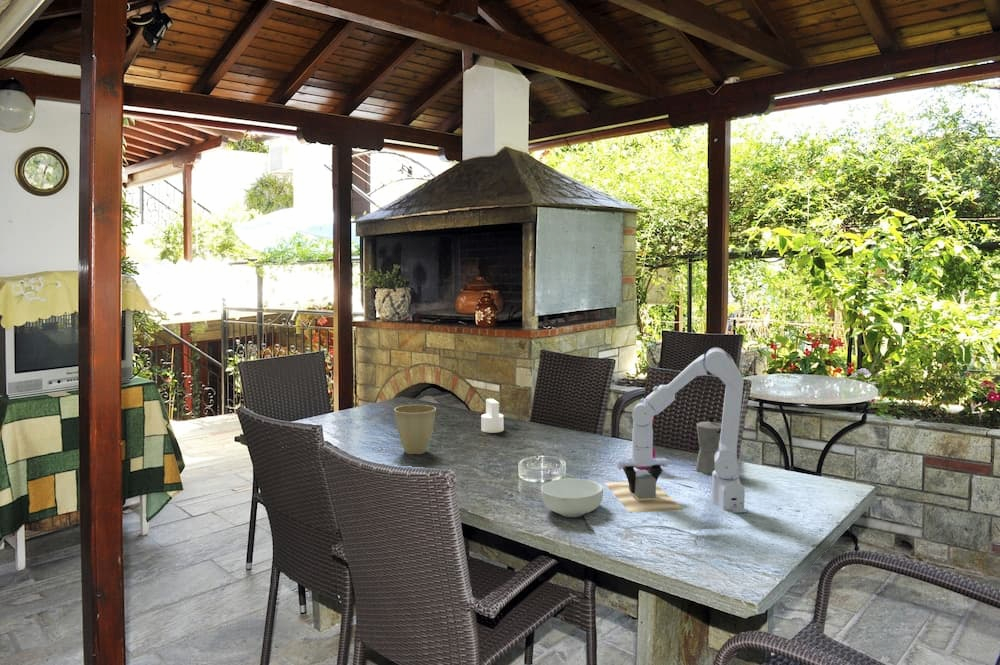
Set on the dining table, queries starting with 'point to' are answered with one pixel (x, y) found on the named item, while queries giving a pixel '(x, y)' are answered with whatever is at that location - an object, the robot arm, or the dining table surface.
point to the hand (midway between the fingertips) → (641, 491)
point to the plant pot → (415, 426)
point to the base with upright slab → (492, 418)
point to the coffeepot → (707, 445)
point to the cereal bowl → (572, 496)
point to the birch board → (634, 505)
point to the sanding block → (644, 486)
